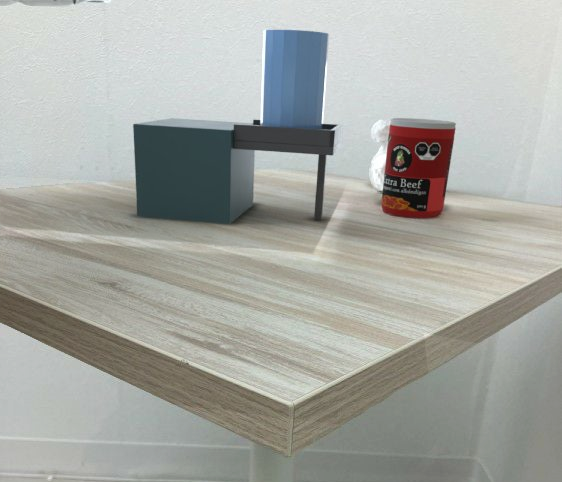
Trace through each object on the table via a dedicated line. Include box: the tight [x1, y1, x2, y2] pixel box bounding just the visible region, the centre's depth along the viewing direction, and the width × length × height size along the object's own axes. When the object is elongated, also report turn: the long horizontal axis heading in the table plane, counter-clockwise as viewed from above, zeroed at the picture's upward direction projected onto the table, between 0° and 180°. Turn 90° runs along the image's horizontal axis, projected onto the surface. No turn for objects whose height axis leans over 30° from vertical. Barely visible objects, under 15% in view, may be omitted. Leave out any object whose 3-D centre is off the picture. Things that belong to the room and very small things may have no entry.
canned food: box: [380, 117, 456, 219], centre depth 80 cm, size 8×8×11 cm
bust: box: [368, 118, 392, 192], centre depth 95 cm, size 12×8×11 cm
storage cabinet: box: [132, 117, 344, 225], centre depth 70 cm, size 20×12×10 cm, turn 81°
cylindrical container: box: [259, 29, 330, 129], centre depth 66 cm, size 6×6×10 cm
